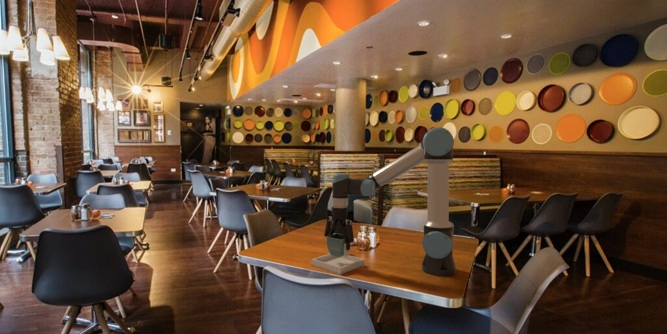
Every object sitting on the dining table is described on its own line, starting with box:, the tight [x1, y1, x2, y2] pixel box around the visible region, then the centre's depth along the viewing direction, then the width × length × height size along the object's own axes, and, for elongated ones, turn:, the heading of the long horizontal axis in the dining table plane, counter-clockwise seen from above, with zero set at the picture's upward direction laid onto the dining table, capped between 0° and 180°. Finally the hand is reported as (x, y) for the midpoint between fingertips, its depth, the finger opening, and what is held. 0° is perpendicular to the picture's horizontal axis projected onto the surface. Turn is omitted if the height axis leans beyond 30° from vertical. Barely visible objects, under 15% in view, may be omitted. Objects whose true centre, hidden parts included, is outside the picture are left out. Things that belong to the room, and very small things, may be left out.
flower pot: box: [325, 233, 345, 257], centre depth 170 cm, size 9×9×9 cm
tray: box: [311, 253, 365, 276], centre depth 170 cm, size 18×18×3 cm
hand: (338, 254), depth 170 cm, fingers closed on flower pot, 9 cm apart
